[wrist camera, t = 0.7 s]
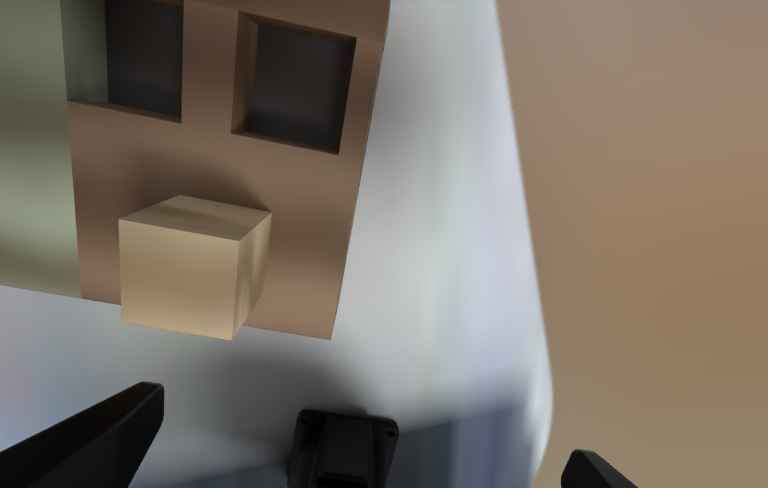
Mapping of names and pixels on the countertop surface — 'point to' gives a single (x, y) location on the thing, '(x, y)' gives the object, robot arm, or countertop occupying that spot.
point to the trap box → (185, 135)
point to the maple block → (193, 265)
